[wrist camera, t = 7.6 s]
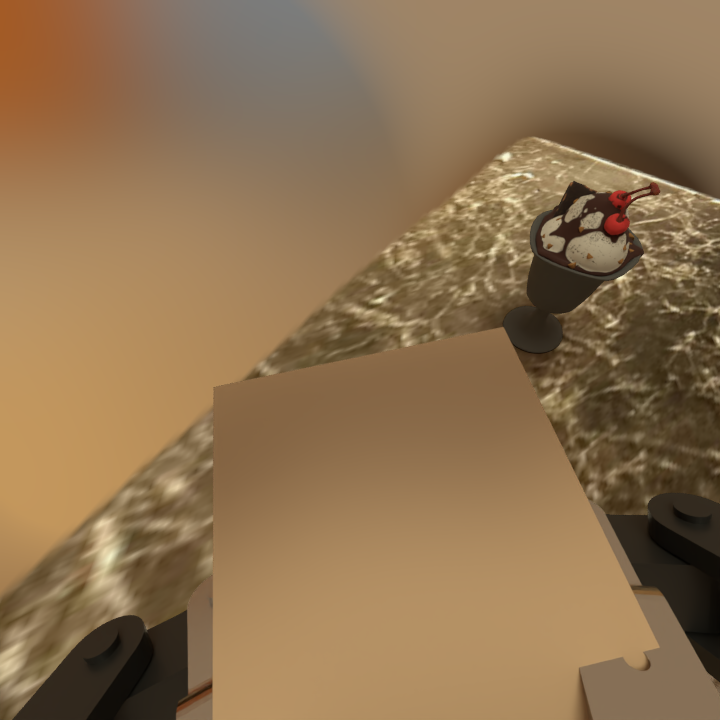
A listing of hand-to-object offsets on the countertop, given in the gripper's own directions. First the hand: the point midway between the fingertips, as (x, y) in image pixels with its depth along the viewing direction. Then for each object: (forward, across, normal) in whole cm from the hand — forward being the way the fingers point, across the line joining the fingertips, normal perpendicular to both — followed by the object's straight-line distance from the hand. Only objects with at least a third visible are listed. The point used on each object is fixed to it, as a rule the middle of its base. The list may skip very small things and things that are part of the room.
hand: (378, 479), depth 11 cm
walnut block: (+2, 0, +5) cm, 5 cm away
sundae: (+21, -16, +2) cm, 27 cm away
